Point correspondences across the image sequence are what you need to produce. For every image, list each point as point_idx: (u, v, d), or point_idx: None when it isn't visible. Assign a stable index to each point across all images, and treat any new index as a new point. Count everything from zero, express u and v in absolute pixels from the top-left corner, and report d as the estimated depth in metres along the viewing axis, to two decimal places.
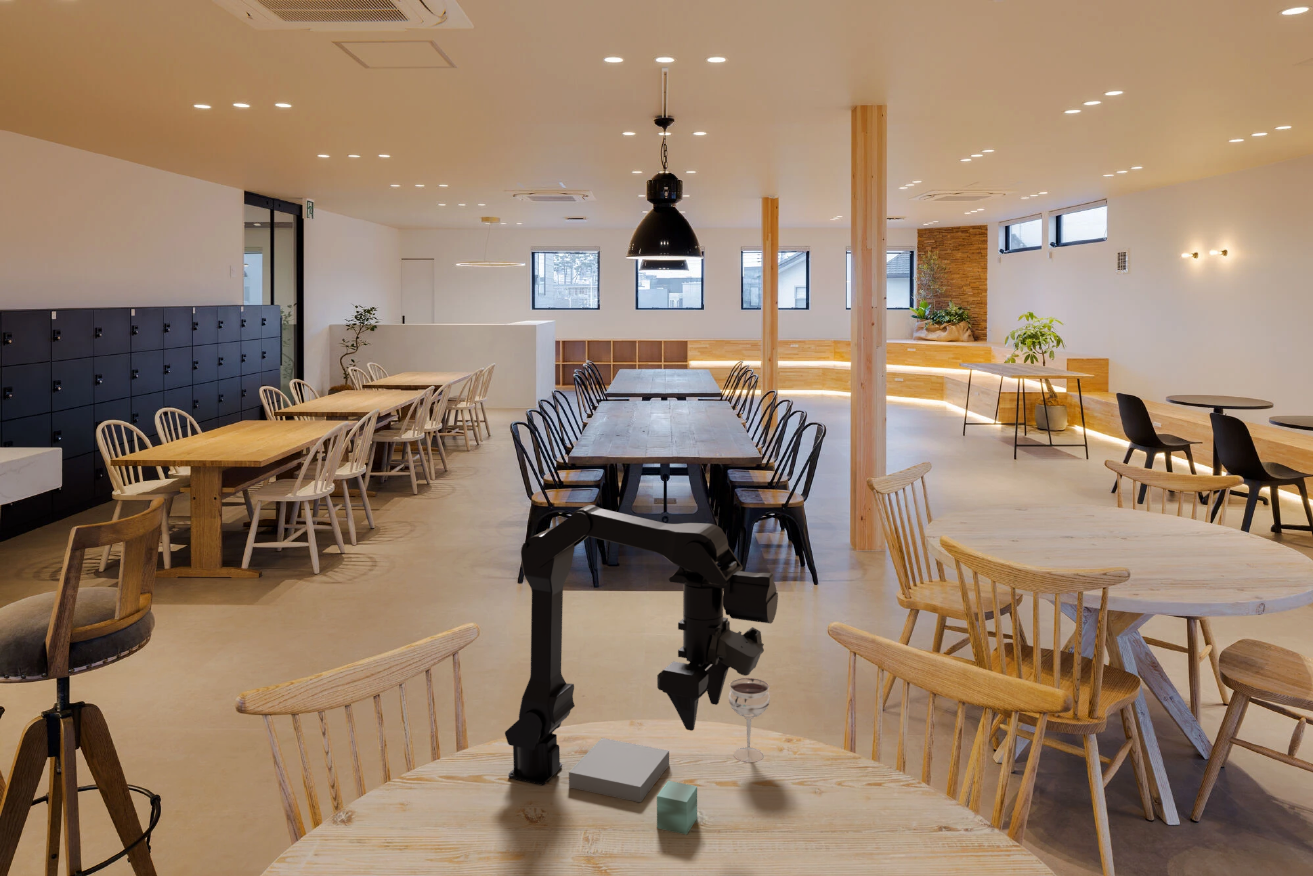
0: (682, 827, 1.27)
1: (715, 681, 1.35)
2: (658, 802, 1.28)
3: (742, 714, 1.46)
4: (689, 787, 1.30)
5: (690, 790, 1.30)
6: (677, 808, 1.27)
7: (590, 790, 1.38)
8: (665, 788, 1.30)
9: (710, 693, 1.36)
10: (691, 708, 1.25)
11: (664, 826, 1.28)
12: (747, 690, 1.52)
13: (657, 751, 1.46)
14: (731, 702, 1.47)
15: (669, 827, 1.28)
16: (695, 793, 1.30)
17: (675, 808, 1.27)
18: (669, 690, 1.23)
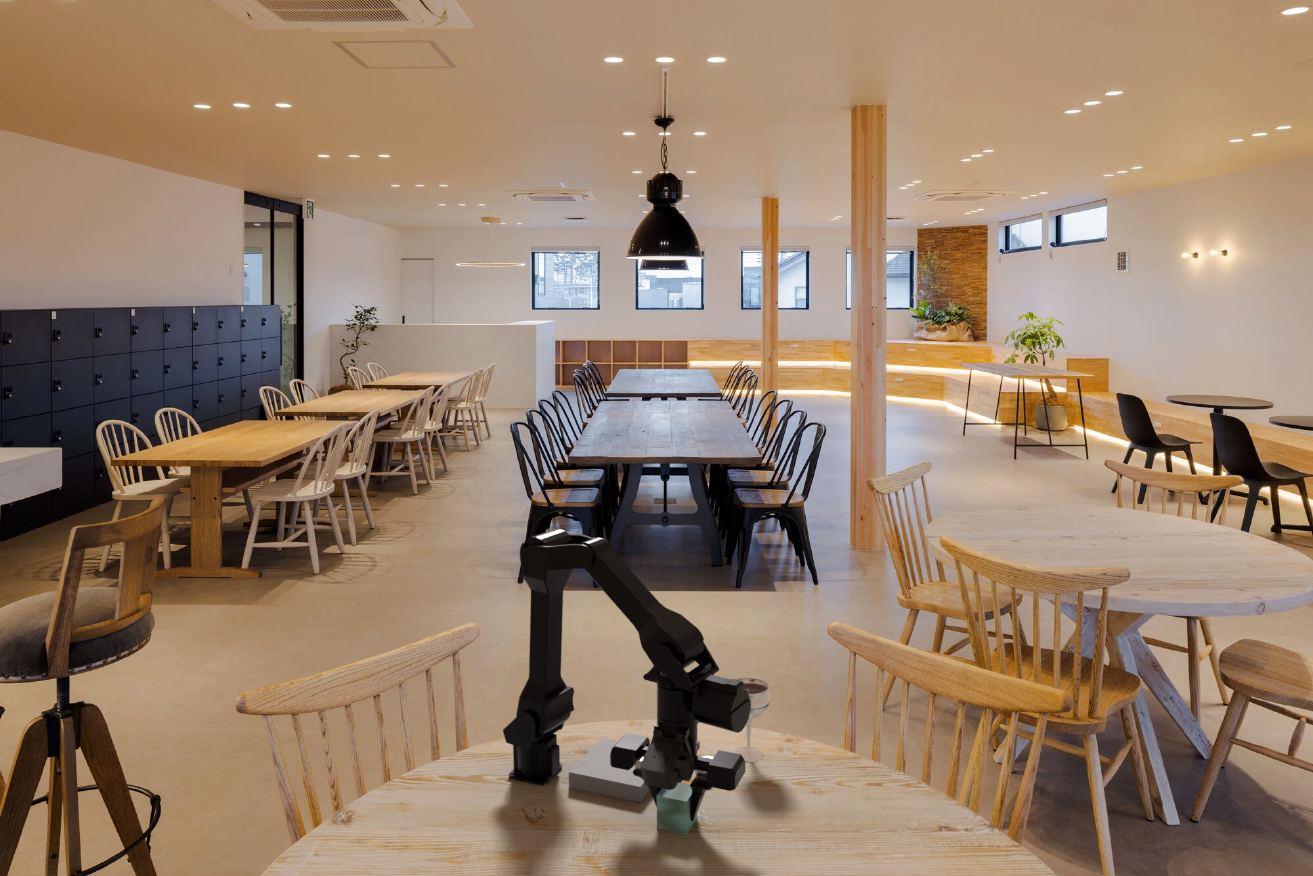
0: (682, 827, 1.27)
1: None
2: (658, 801, 1.28)
3: None
4: (689, 787, 1.30)
5: (690, 790, 1.30)
6: (677, 807, 1.27)
7: (590, 790, 1.38)
8: None
9: None
10: None
11: (664, 826, 1.28)
12: (747, 690, 1.52)
13: None
14: None
15: (669, 827, 1.28)
16: None
17: (675, 808, 1.27)
18: None
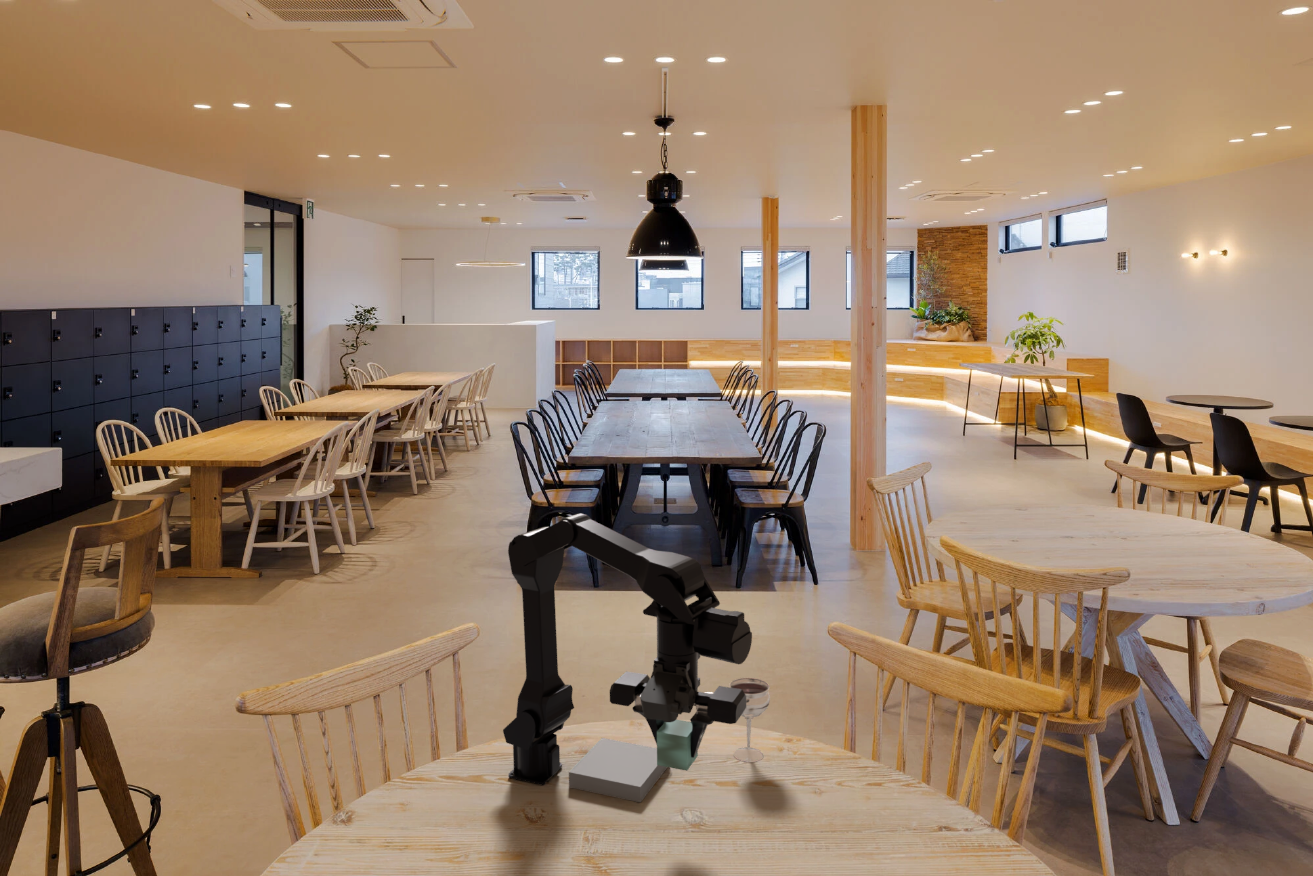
0: (682, 763, 1.26)
1: None
2: (658, 738, 1.27)
3: (742, 714, 1.46)
4: (689, 724, 1.29)
5: (690, 726, 1.28)
6: (678, 743, 1.26)
7: (590, 790, 1.38)
8: (665, 725, 1.29)
9: None
10: None
11: (664, 762, 1.27)
12: (747, 690, 1.52)
13: None
14: None
15: (669, 763, 1.27)
16: None
17: (675, 744, 1.26)
18: None
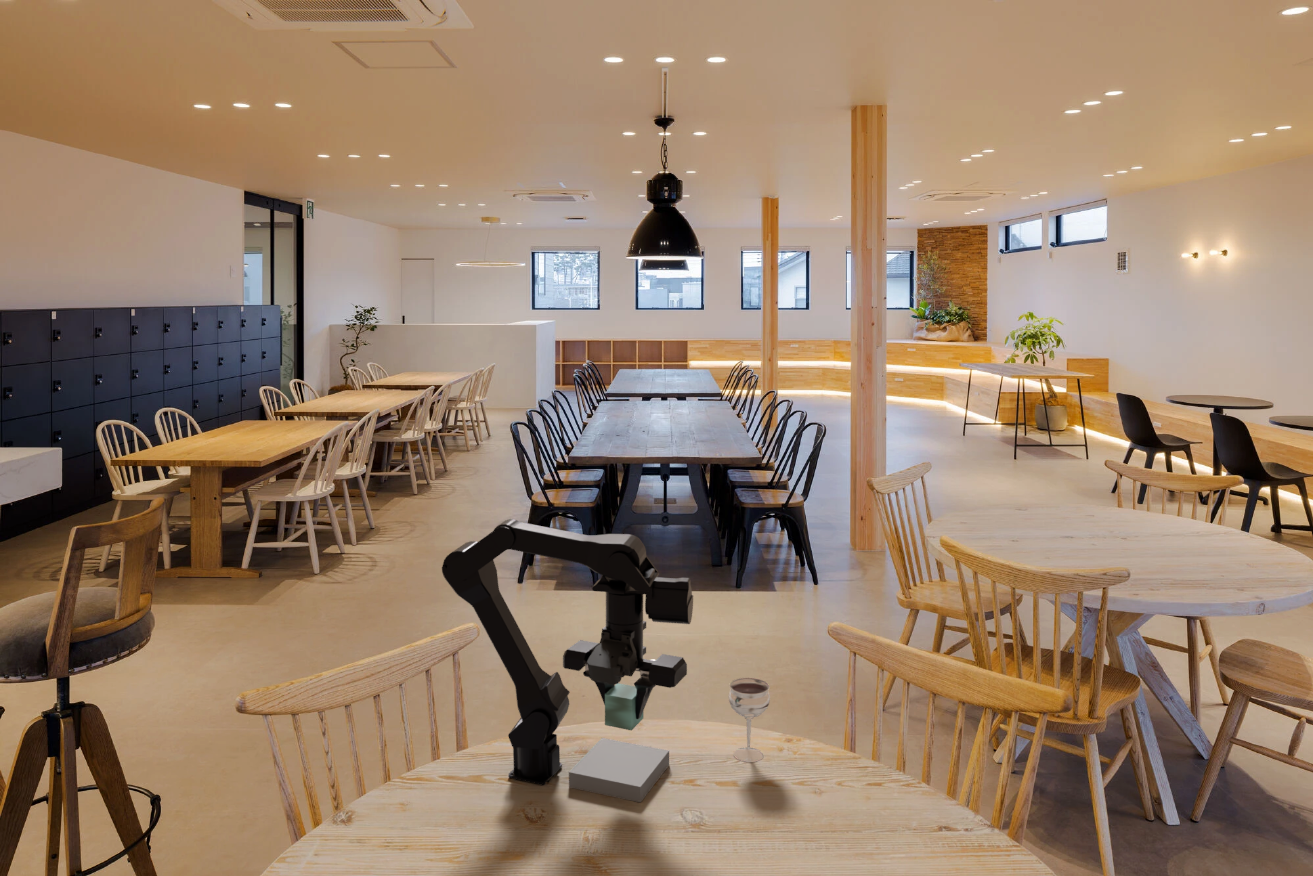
0: (627, 723, 1.37)
1: None
2: (606, 700, 1.38)
3: (742, 714, 1.46)
4: None
5: (636, 690, 1.40)
6: (623, 705, 1.37)
7: (590, 790, 1.38)
8: (613, 688, 1.40)
9: None
10: None
11: (611, 722, 1.39)
12: (747, 690, 1.52)
13: (657, 751, 1.46)
14: (731, 702, 1.47)
15: (616, 723, 1.38)
16: None
17: (621, 706, 1.38)
18: None
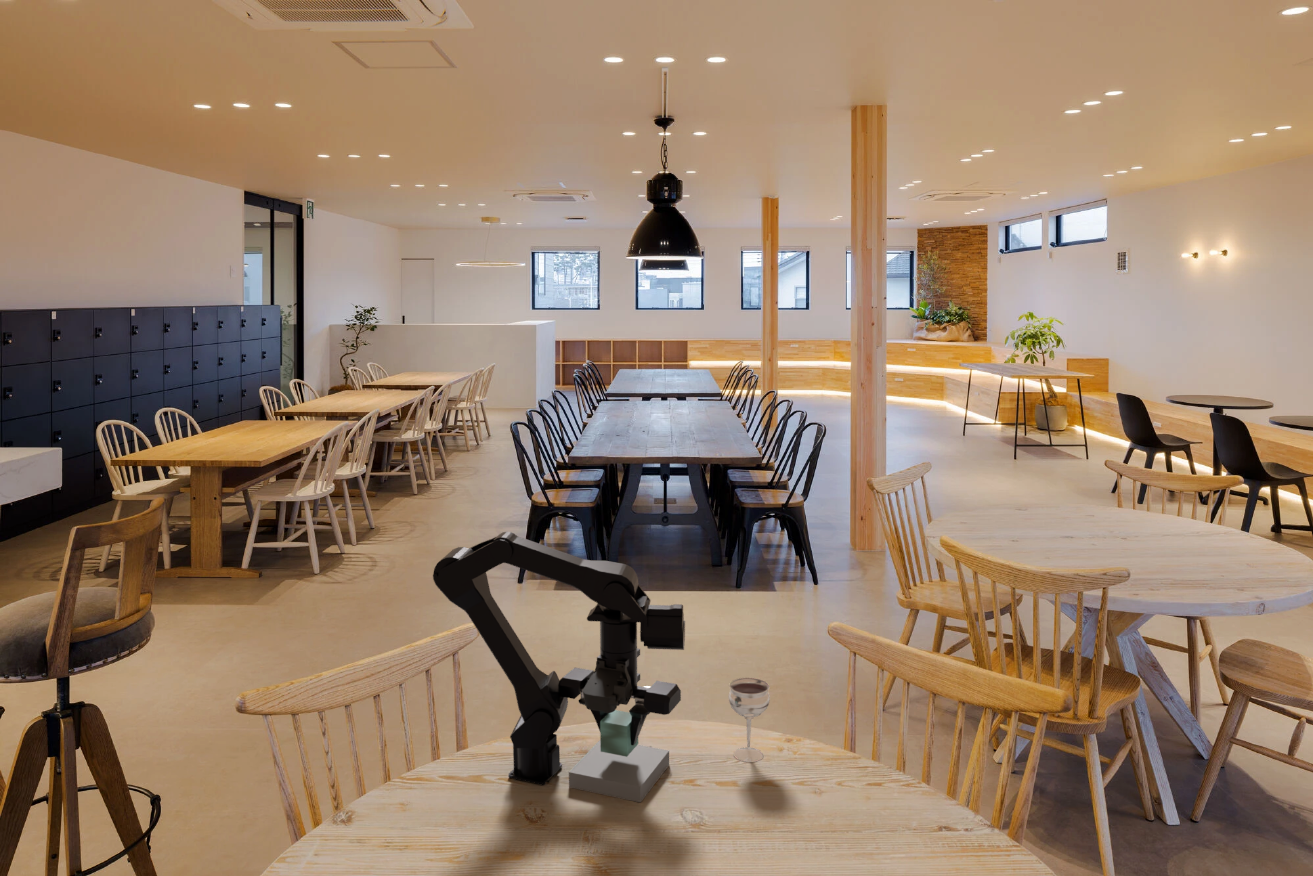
0: (623, 749, 1.40)
1: None
2: (601, 727, 1.41)
3: (742, 714, 1.46)
4: (630, 714, 1.43)
5: (631, 717, 1.42)
6: (618, 732, 1.40)
7: (590, 790, 1.38)
8: (608, 715, 1.42)
9: None
10: None
11: (607, 749, 1.41)
12: (747, 690, 1.52)
13: (657, 751, 1.46)
14: (731, 702, 1.47)
15: (611, 750, 1.40)
16: None
17: (616, 732, 1.40)
18: None
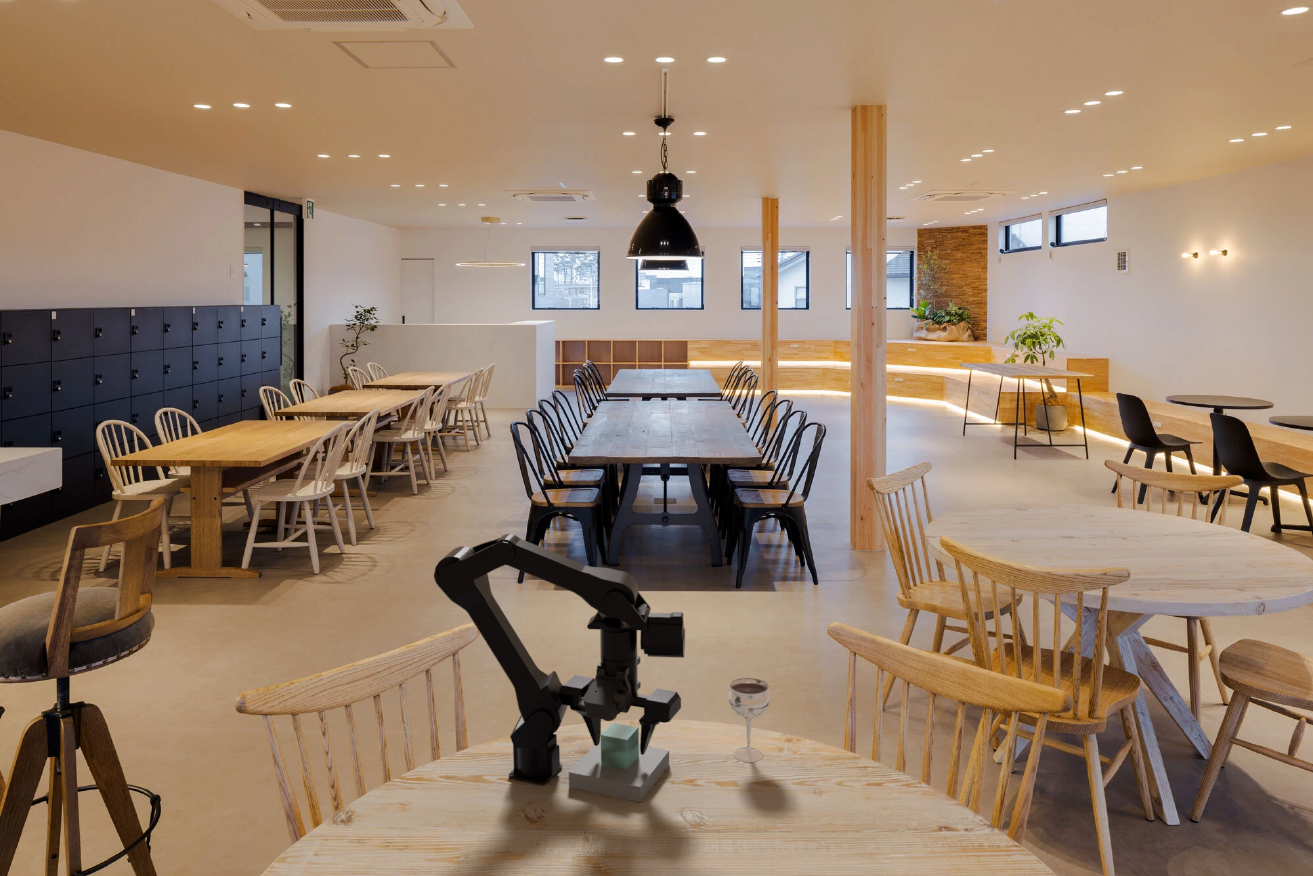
0: (623, 763, 1.40)
1: None
2: (602, 740, 1.41)
3: (742, 714, 1.46)
4: (631, 728, 1.43)
5: (631, 730, 1.42)
6: (619, 745, 1.40)
7: (590, 790, 1.38)
8: (609, 729, 1.43)
9: None
10: None
11: (607, 762, 1.41)
12: (747, 690, 1.52)
13: (657, 751, 1.46)
14: (731, 702, 1.47)
15: (612, 763, 1.41)
16: (636, 733, 1.43)
17: (617, 746, 1.40)
18: None
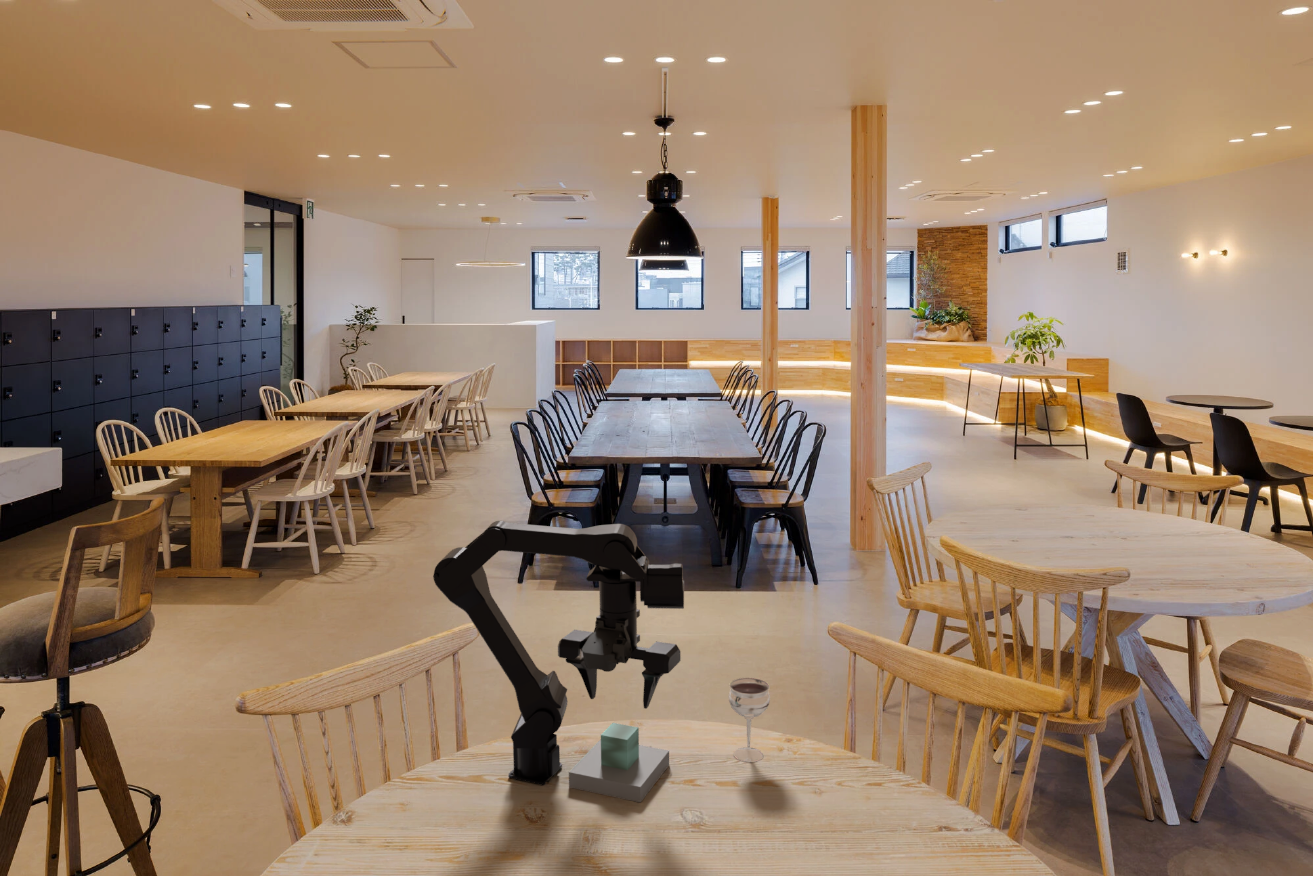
0: (623, 763, 1.40)
1: None
2: (602, 740, 1.41)
3: (742, 714, 1.46)
4: (631, 728, 1.43)
5: (631, 730, 1.42)
6: (619, 745, 1.40)
7: (590, 790, 1.38)
8: (609, 729, 1.43)
9: None
10: None
11: (607, 762, 1.41)
12: (747, 690, 1.52)
13: (657, 751, 1.46)
14: (731, 702, 1.47)
15: (612, 763, 1.41)
16: (636, 733, 1.43)
17: (617, 746, 1.40)
18: None
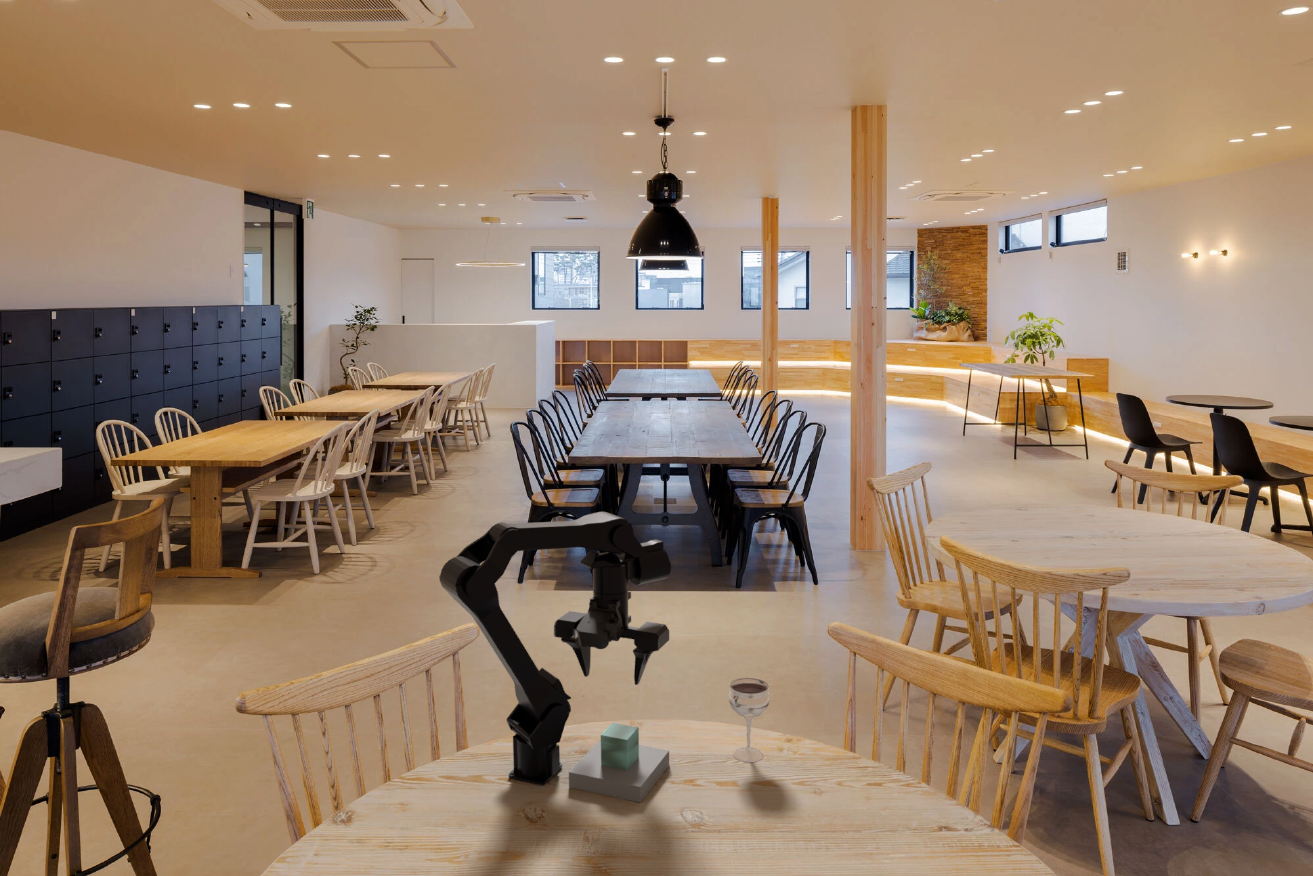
0: (623, 763, 1.40)
1: None
2: (602, 740, 1.41)
3: (742, 714, 1.46)
4: (631, 728, 1.43)
5: (631, 730, 1.42)
6: (619, 745, 1.40)
7: (590, 790, 1.38)
8: (609, 729, 1.43)
9: None
10: None
11: (607, 762, 1.41)
12: (747, 690, 1.52)
13: (657, 751, 1.46)
14: (731, 702, 1.47)
15: (612, 763, 1.41)
16: (636, 733, 1.43)
17: (617, 746, 1.40)
18: None
